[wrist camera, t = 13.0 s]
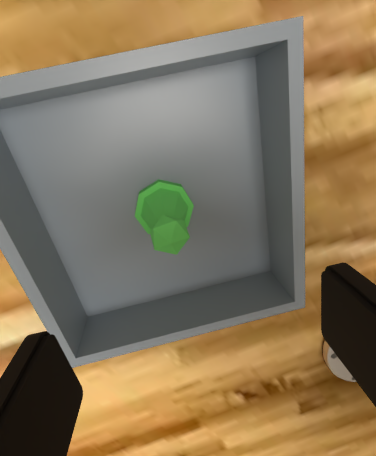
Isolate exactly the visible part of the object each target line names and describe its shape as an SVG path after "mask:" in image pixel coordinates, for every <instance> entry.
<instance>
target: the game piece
mask: <svg viewBox="0 0 376 456" xmlns="http://www.w3.org/2000/svg"><path fill="white" fill-rule="evenodd" d="M193 207H194V205H193V203H192V201H191V200H190V198H189V196H188V195H187V193H186V192H185V190H184V188H183V187H182V185H181V184H178V183H173V182H168V181H164V180H159V179H158V180H157V181H155V182H154V183H152V184H150V185H149V186H147V187H146V188H144V189H142V190H141V191H139V195H138V201H137V206H136V211H135V217H136V219H137V220H138V221H139V223H140V224H141V225H142V227H143V228H144V229H145V231H146V232H147V233H148V234H150V235H151V239H152V243H153V246H154V250H157V251H161V252H166V253H171V254H175V255H177V254H178V252H179V251H180V250H181V248H182V247H183V246H184V245H185V243H186V242H187V241H188V239H189V238H190V236H189V233H188V230H187V227H188V225H189V222H190V218H191V214H192V211H193Z"/></svg>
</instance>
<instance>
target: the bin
mask: <svg viewBox="0 0 376 456" xmlns="http://www.w3.org/2000/svg"><path fill="white" fill-rule="evenodd" d="M158 179H159V180H164V181H168V182H173V183H178V184H181V185H182V187H183V188H184V190H185V192H186V193H187V195H188V196H189V198H190V200H191V201H192V203H193V205H194V207H193V211H192V214H191V218H190V222H189V225H188V227H187V230H188V233H189V236H190V238H189V239H188V241H187V242H186V243H185V245H184V246H183V247H182V248H181V250H180V251H179V252H178V254H177V255H175V254H171V253H166V252H161V251H157V250H154V246H153V243H152V239H151V235H150V234H148V233H147V232H146V231H145V229H144V228H143V227H142V225H141V224H140V223H139V221H138V220H137V219H136V217H135V211H136V206H137V201H138V195H139V191H141V190H142V189H144V188H146V187H147V186H149V185H150V184H152V183H154V182H155V181H157V180H158ZM0 249H1V251H2V253H3V254H4V256H5V258H6V260H7V261H8V263H9V265H10V267H11V268H12V270H13V272H14V274H15V275H16V277H17V279H18V281H19V282H20V284H21V286H22V288H23V289H24V291H25V293H26V295H27V296H28V298H29V300H30V302H31V303H32V305H33V307H34V309H35V310H36V312H37V314H38V316H39V318H40V319H41V321H42V323H43V325H44V326H45V328H46V330H47V332H49V333H50V335H51V334H53V335H55V337H56V339H57V340H58V342H59V344H60V346H61V348H62V350H63V352H64V354H65V356H66V358H67V360H68V361H69V363H70V365H71V367H72V368H74V367H77V366H81V365H85V364H89V363H93V362H97V361H101V360H104V359H108V358H112V357H116V356H120V355H124V354H127V353H131V352H135V351H139V350H143V349H147V348H150V347H154V346H158V345H162V344H166V343H170V342H174V341H177V340H181V339H185V338H189V337H193V336H197V335H200V334H204V333H208V332H212V331H216V330H220V329H224V328H227V327H231V326H235V325H239V324H243V323H247V322H250V321H254V320H258V319H262V318H266V317H270V316H274V315H277V314H281V313H285V312H289V311H293V310H297V309H300V308H304V307H305V204H304V54H303V16H301V17H296V18H291V19H286V20H281V21H276V22H271V23H266V24H261V25H256V26H251V27H246V28H241V29H236V30H231V31H226V32H221V33H216V34H211V35H206V36H201V37H196V38H191V39H187V40H182V41H177V42H172V43H167V44H162V45H157V46H152V47H147V48H142V49H137V50H132V51H127V52H122V53H117V54H112V55H107V56H102V57H97V58H92V59H87V60H82V61H77V62H72V63H68V64H63V65H58V66H53V67H48V68H43V69H38V70H33V71H28V72H23V73H18V74H13V75H8V76H3V77H0Z"/></svg>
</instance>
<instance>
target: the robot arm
mask: <svg viewBox="0 0 376 456" xmlns="http://www.w3.org/2000/svg"><path fill="white" fill-rule="evenodd" d="M321 330H322V335H323V337H324V339H325V342H324V345H323V357H324V361H325V362H326V364H327V366H328V367H329V369H330V370H331V371H332V373H333V374H334V375H336V376H337V377H338V378H341V379H343V380H346V381H351V382H357V383H358V384H359V386H360V387H361V388H362V389H363V391H364V392H365V393H366V395H367V396H368V397H369V399H370V400H371V401H372V403H373V404H374V405H375V407H376V285H375V284H374V283H372V282H371V281H370V280H368V279H367V278H366V277H364V276H363V275H362V274H360V273H359V272H358V271H356V270H355V269H354V268H352V267H351V266H350V265H348V264H347V263H339V264H335V265H330V266H327V267H326V269H325V271H324V272H322V275H321ZM82 397H83V390H82V386H81V384H80V382H79V381H78V379H77V377H76V375H75V373H74V371H73V369H72V367H71V365H70V363H69V361H68V360H67V358H66V356H65V354H64V352H63V350H62V348H61V346H60V344H59V342H58V340H57V339H56V337H55V335H53V334H51V335H50V333H49V332H47V331H44V332H40V333H36V334H31V335H28V336H27V337H26V338H25V339H24V341H23V342H22V344H21V346H20V347H19V349H18V350H17V352H16V354H15V355H14V357H13V359H12V360H11V362H10V363H9V365H8V367H7V368H6V370H5V372H4V373H3V375H2V376H1V378H0V456H67V452H68V449H69V445H70V441H71V438H72V434H73V430H74V427H75V423H76V420H77V416H78V412H79V409H80V405H81V401H82Z"/></svg>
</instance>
